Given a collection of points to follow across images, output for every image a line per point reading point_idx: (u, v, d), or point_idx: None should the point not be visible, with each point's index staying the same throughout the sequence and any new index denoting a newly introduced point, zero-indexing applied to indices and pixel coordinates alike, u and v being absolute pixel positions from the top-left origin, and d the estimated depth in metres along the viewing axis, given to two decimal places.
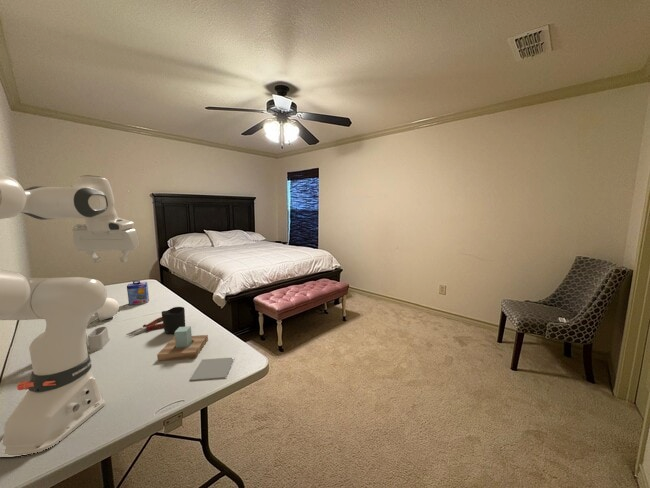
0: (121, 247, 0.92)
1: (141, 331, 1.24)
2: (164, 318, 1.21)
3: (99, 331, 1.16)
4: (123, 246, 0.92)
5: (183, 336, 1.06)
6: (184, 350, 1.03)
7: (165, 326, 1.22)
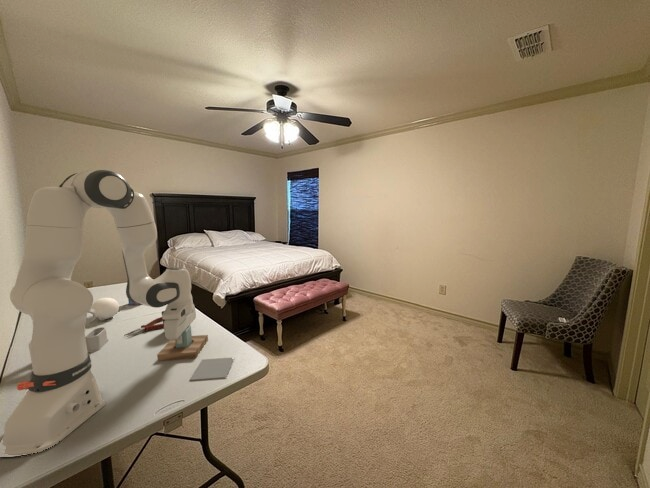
0: None
1: (139, 332, 1.23)
2: None
3: (98, 332, 1.16)
4: None
5: (183, 336, 1.06)
6: (184, 350, 1.03)
7: None
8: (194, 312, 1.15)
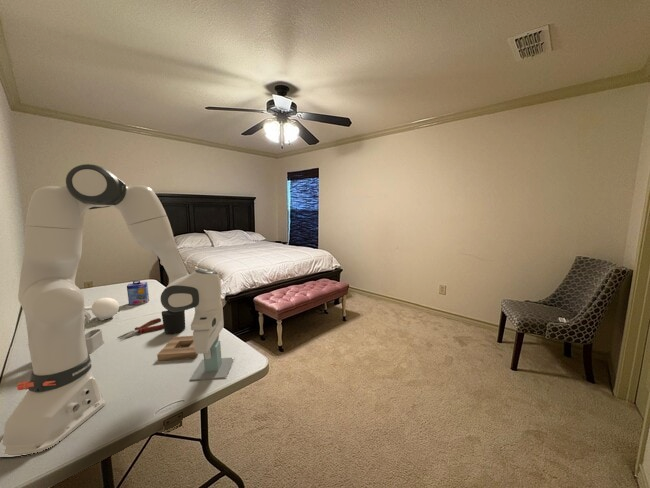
0: None
1: (132, 334, 1.21)
2: (164, 318, 1.21)
3: (94, 333, 1.14)
4: None
5: (213, 353, 0.92)
6: (184, 350, 1.03)
7: (165, 326, 1.22)
8: (222, 320, 1.02)
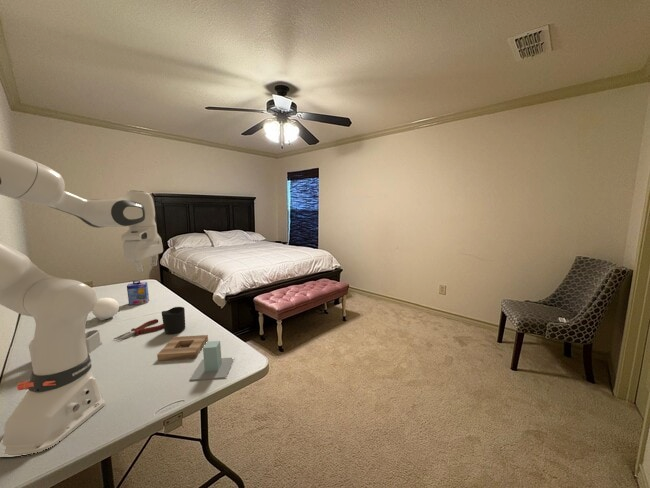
0: None
1: (129, 335, 1.20)
2: (164, 318, 1.21)
3: (92, 334, 1.13)
4: None
5: (213, 353, 0.92)
6: (184, 350, 1.03)
7: (165, 326, 1.22)
8: (161, 245, 1.12)
